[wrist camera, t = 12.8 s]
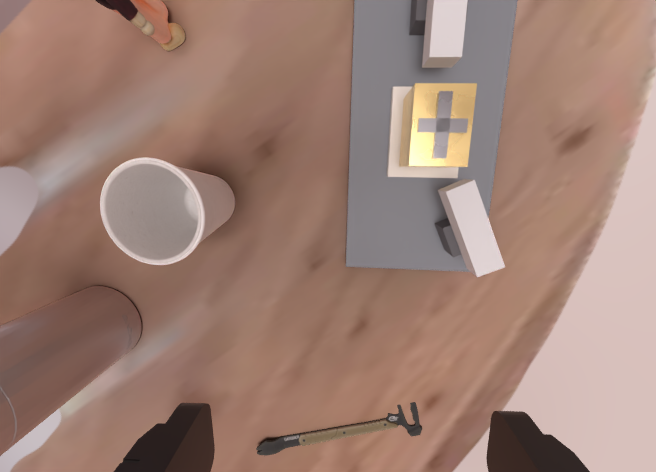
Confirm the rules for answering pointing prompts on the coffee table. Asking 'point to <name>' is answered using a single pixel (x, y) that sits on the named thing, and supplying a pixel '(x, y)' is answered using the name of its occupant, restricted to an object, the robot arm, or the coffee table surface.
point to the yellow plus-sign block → (437, 125)
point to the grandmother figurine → (149, 20)
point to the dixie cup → (162, 209)
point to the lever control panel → (386, 124)
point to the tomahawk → (341, 432)
